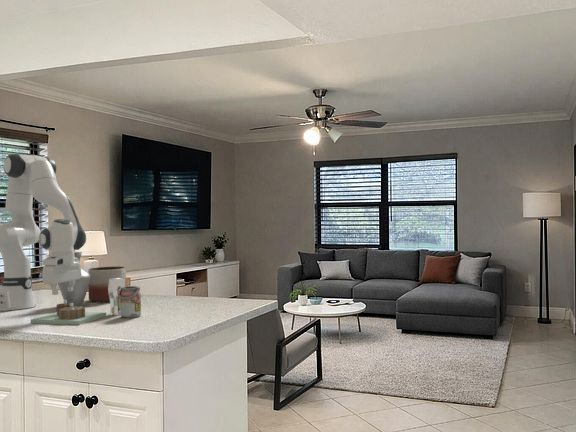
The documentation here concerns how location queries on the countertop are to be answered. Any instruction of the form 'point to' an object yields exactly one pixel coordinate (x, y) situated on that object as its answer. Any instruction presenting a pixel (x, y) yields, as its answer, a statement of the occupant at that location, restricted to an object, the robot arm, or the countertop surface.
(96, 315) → the board
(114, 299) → the beer glass
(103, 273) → the planter
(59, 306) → the gear
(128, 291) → the beverage can
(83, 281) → the vase
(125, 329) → the countertop surface
